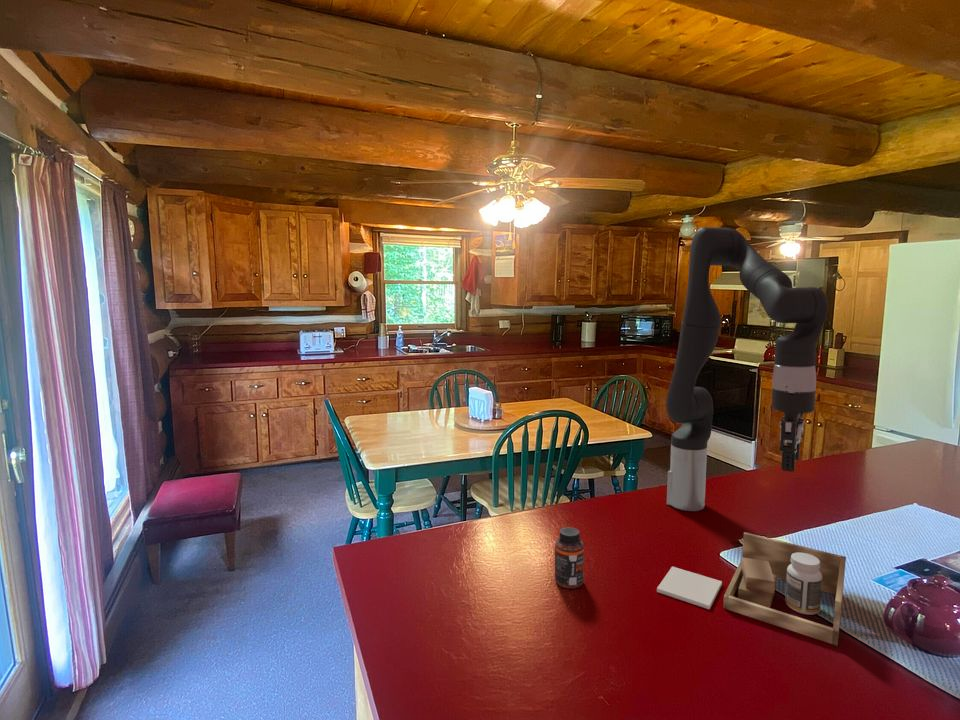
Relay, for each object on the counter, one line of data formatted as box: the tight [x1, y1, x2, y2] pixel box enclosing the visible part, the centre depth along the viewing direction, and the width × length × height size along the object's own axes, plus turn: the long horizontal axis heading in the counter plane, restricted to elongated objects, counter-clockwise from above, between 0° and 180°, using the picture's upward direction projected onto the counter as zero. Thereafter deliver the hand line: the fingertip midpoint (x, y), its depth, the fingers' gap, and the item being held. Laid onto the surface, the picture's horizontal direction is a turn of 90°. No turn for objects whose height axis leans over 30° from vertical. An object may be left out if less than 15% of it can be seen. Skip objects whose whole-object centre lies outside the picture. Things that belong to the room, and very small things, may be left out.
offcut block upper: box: [741, 557, 776, 594], centre depth 103 cm, size 5×8×2 cm, turn 159°
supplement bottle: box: [554, 526, 585, 590], centre depth 108 cm, size 6×6×11 cm
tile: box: [656, 566, 723, 610], centre depth 106 cm, size 10×10×1 cm
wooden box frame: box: [722, 531, 847, 646], centre depth 100 cm, size 18×18×8 cm
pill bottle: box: [784, 552, 823, 616], centre depth 98 cm, size 6×6×10 cm
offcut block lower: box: [737, 575, 777, 608], centre depth 103 cm, size 6×9×3 cm, turn 145°
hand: (790, 464), depth 107 cm, fingers open, 8 cm apart
